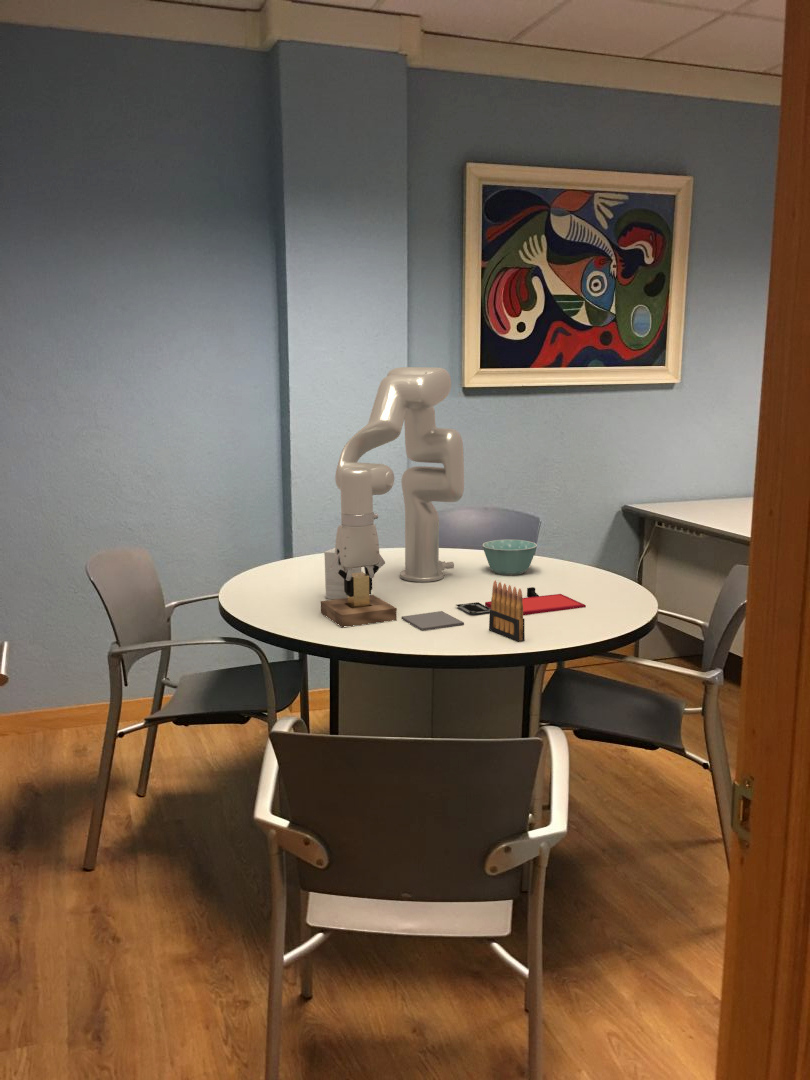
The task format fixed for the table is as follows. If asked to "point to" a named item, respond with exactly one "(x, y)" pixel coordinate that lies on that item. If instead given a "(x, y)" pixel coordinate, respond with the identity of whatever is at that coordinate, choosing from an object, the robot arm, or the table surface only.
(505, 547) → the bowl
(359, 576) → the wooden block
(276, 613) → the table surface
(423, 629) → the rubber mat
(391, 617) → the socket block
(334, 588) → the supplement box
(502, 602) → the ammunition clip
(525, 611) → the red board with handle
